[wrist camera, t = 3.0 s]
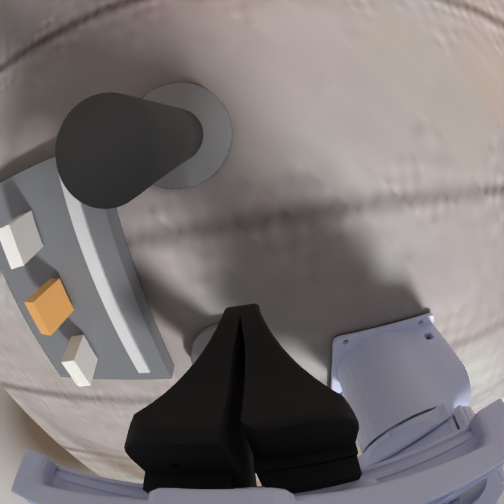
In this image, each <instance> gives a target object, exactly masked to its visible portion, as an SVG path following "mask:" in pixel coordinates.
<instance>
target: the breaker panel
mask: <svg viewBox="0 0 504 504" xmlns="http://www.w3.org/2000/svg"><path fill="white" fill-rule="evenodd" d="M29 211H32V214H33V217H34V221H35V224H36V227H37V230H38V233H39V236H40V238H41V241H42V244H43V247H42V248H41V249H40V250H39V251H38V252H37V253H36V254H35V255H34V256H33V257H32V258H31V259H30V260H29V261H28V262H27V263H26V264H25V265H24V266H21V267H17V268H14V269H11V267H10V265H9V262H8V260H7V257H6V255H5V252H4V250H3V247H2V244H1V241H0V268H1V271H2V273H3V275H4V278H5V280H6V282H7V284H8V286H9V289H10V291H11V293H12V295H13V297H14V299H15V301H16V303H17V305H18V307H19V309H20V311H21V313H22V315H23V316H24V318H25V320H26V322H27V324H28V325H29V327H30V329H31V331H32V332H33V334H34V336H35V338H36V339H37V341H38V342H39V344H40V346H41V347H42V349H43V350H44V352H45V354H46V355H47V357H48V358H49V360H50V361H51V363H52V364H53V366H54V367H55V369H56V370H57V371H58V373H59V374H60V376H61V377H71V376H70V374H69V373H68V371H67V370H66V369H65V367H64V366H63V364H62V363H61V361H62V359H63V356H64V354H65V351H66V349H67V346H68V344H69V342H70V339H71V337H72V336H78V335H84V336H85V338H86V340H87V341H88V343H89V345H90V347H91V348H92V350H93V352H94V354H95V355H96V357H97V359H98V360H97V364H96V368H95V371H94V375H93V379H171V378H172V374H173V370H174V364H173V361H172V359H171V357H170V355H169V353H168V350H167V348H166V346H165V344H164V341H163V339H162V337H161V334H160V332H159V330H158V327H157V325H156V323H155V320H154V318H153V315H152V313H151V310H150V308H149V305H148V303H147V300H146V297H145V295H144V292H143V289H142V287H141V284H140V281H139V279H138V276H137V273H136V270H135V267H134V264H133V261H132V258H131V255H130V252H129V249H128V246H127V243H126V240H125V237H124V234H123V230H122V227H121V224H120V220H119V217H118V213H117V210H116V208H111V209H98V208H93V207H90V206H87V205H85V204H83V203H81V202H80V201H78V200H77V199H76V198H74V197H73V196H72V195H71V194H70V193H69V191H68V190H67V189H66V187H65V186H64V184H63V182H62V180H61V178H60V176H59V173H58V169H57V165H56V156H55V157H52V158H50V159H48V160H46V161H43V162H41V163H39V164H37V165H35V166H32V167H30V168H28V169H26V170H24V171H22V172H20V173H18V174H16V175H14V176H12V177H10V178H8V179H6V180H5V181H3V182H1V183H0V227H2V226H3V225H5V224H6V223H8V222H9V221H11V220H12V219H14V218H16V217H17V216H19V215H21V214H24V213H26V212H29ZM58 278H60V280H61V283H62V285H63V287H64V290H65V292H66V294H67V296H68V298H69V300H70V302H71V305H72V307H73V309H74V311H73V312H72V313H71V314H70V315H69V316H68V317H67V318H66V320H65V321H64V322H63V323H62V324H61V325H60V326H59V327H58V328H57V330H56V331H55V332H54V333H53V334H52V335H51V336H50V335H44V334H41V333H40V331H39V329H38V327H37V326H36V324H35V322H34V320H33V318H32V316H31V315H30V313H29V311H28V309H27V307H26V305H25V303H24V301H25V300H27V299H28V298H29V297H30V296H31V295H32V294H33V293H34V292H35V291H36V290H38V289H39V288H40V287H41V286H42V285H43V284H44V283H46V282H47V281H48V280H49V279H58Z"/></svg>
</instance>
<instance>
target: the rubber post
mask: <svg viewBox="0 0 504 504" xmlns="http://www.w3.org/2000/svg"><path fill="white" fill-rule="evenodd" d="M231 140H232V125H231V121H230V117H229V115H228V112H227V110H226V109H225V107H224V105H223V104H222V103H221V102H220V100H219V99H218V98H217V97H216V96H215V95H214V94H212V93H211V92H210V91H208V90H207V89H205V88H203V87H201V86H198V85H195V84H190V83H171V84H166V85H163V86H160V87H158V88H156V89H154V90H152V91H151V92H149V93H147V94H146V95H145V96H144V97H143V98H142V99H141V98H137V97H132V96H128V95H123V94H118V93H101V94H97V95H94V96H91V97H89V98H87V99H85V100H83V101H82V102H80V103H79V104H78V105H77V106H76V107H74V108H73V110H72V111H71V112H70V113H69V114H68V116H67V117H66V119H65V120H64V122H63V124H62V126H61V128H60V131H59V134H58V137H57V142H56V152H55V155H56V165H57V169H58V173H59V176H60V178H61V180H62V182H63V184H64V186H65V187H66V189H67V190H68V191H69V193H70V194H71V195H72V196H73V197H74V198H76V199H77V200H78V201H80V202H81V203H83V204H85V205H87V206H90V207H93V208H98V209H111V208H116V207H119V206H122V205H124V204H126V203H128V202H129V201H131V200H132V199H134V198H135V197H137V196H138V195H139V194H141V193H142V192H143V191H145V190H146V189H147V188H149V187H150V186H151V185H153V184H154V185H156V186H159V187H163V188H167V189H184V188H189V187H193V186H195V185H198V184H200V183H202V182H204V181H205V180H207V179H208V178H210V177H211V176H212V175H213V174H214V173H215V172H216V171H217V170H218V169H219V168H220V166H221V165H222V164H223V162H224V160H225V158H226V156H227V154H228V152H229V149H230V146H231Z"/></svg>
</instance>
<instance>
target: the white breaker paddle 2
mask: <svg viewBox="0 0 504 504" xmlns="http://www.w3.org/2000/svg"><path fill="white" fill-rule="evenodd" d="M97 360H98V359H97V357H96V355H95V354H94V352H93V350H92V348H91V347H90V345H89V343H88V341H87V340H86V338H85V336H84V335H78V336H72V337H71V339H70V342H69V344H68V346H67V349H66V351H65V354H64V356H63V359H62V361H61V363H62V364H63V366H64V367H65V369H66V370H67V371H68V373H69V374H70V376H71V377H72V379H73V380H74V381H75V383H76V384H77V386H78V387H80V386H91V383H92V379H93V375H94V371H95V368H96V364H97Z"/></svg>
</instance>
